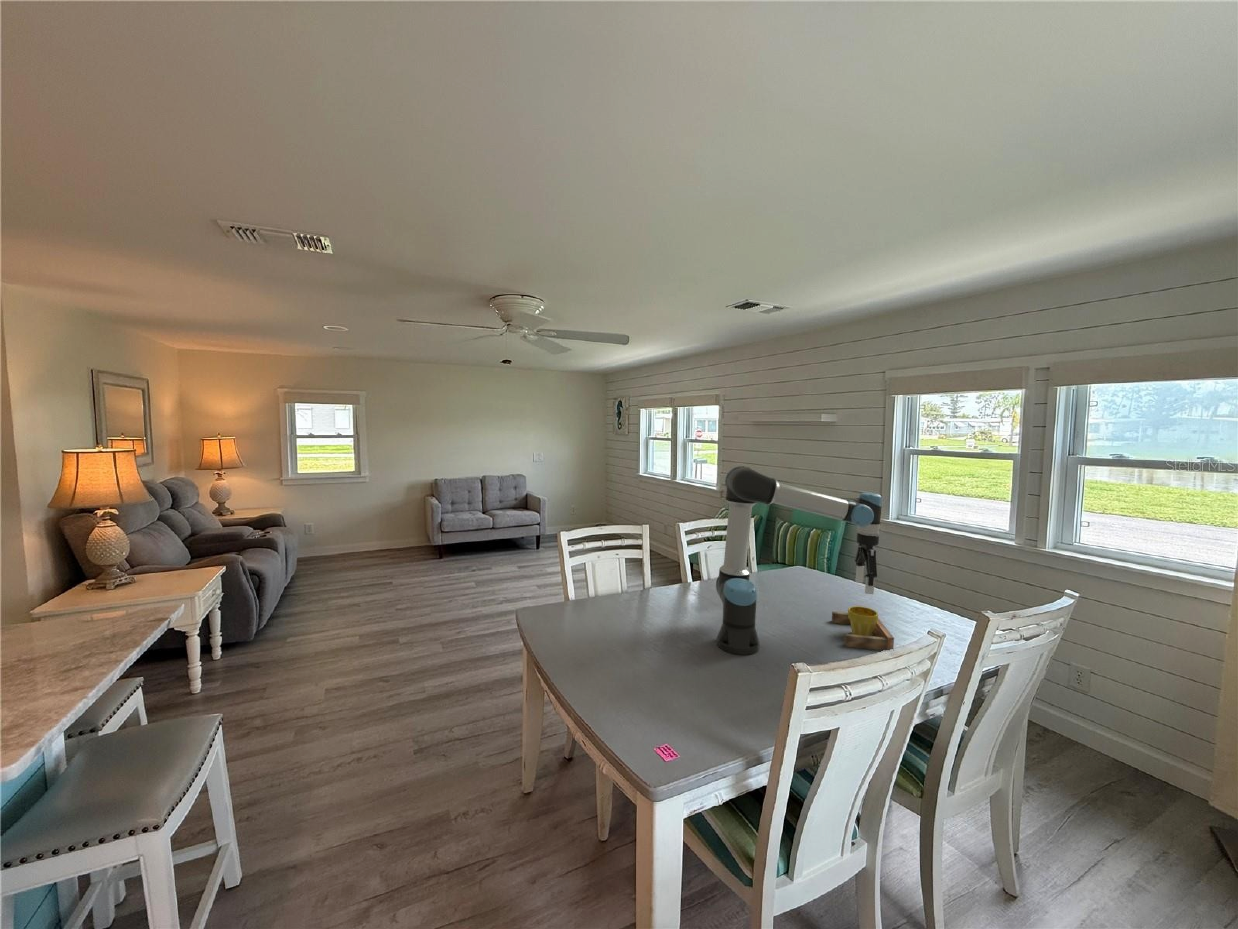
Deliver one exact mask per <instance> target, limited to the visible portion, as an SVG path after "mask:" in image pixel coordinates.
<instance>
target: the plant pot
mask: <svg viewBox="0 0 1238 929" xmlns="http://www.w3.org/2000/svg"><path fill="white" fill-rule="evenodd" d="M847 613H848V618H849V619H850V623H851V624H850V628H851V634H854V635H864V636H873V633H874V632H873V630H874V627H875V624H876V623H877V622H878V618H879V613H878V612H877V611H876V610H875V609H873V608H870V607H865V606H861V605H860V606H859V605H858V606H857V605H856V606H853V605H852V606H850V607H849V608H848V610H847Z"/></svg>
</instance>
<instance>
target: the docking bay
mask: <svg viewBox="0 0 1238 929" xmlns="http://www.w3.org/2000/svg"><path fill="white" fill-rule="evenodd" d="M831 622H832V624H842V625H851V623H850V619H849V618H848V612H844V611H843V612H842V611H841V612H840V611H832V612H831ZM887 628H888V627H886V626H885V625H884V623H883V622H882V621H881V619H879V617H878V622H877V623H876V624H875V627H874V630H873V633H874V634H875V635H876V636H875V635H874V636H873V635H872V636H864V635H854V634H852V633H844V646H845V647H849V648H856V649H857V648H858V649H860V648H861V649H866V650H867V649H869V650H878V649H880V650H879V651H886V650H890V649H893V650H894V644H895V643H894V642H895V637H894V636H893V634H891V632H890V631H889V630H888V629H887Z"/></svg>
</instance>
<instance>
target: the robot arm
mask: <svg viewBox="0 0 1238 929" xmlns="http://www.w3.org/2000/svg"><path fill="white" fill-rule="evenodd" d="M724 483H725V484H724V485H725V488H726V491H725V492H726V493H725V501H726V502H727V503H728V505H729V506H728V516H727V527H726V537H725V548H724V558H723V561H724V562H723V564H722V565H721V566H720V567H719V570H718V571H719V572H718V576H717V577H716V581H715V589H716V592H717V595H718V596H719V599H720V600H721V602H722V624H721V626H720V629H719V631H718V634H717V637H716V644H717V647H718V648H719V649H721V650H722V651H724V652H727V653H730V654H732V655H733V654H734V655H740V656H741V655H743V656H746V655H747V656H748V655H753V654H756V653H757V652H759V650H760V639H759V635H758V632H757V628H756V619H757V617H756V614H757V599H758V592H757V591H758V590H757V586H756V585H755V583H753V582H752V581H751V580H750V574H751V572H750V570H749V569H748V568H747V563H748V561H747V560H748V551H749V542H750V533H751V531H750V530H751V522H752V521H751V520H752V512H753V511H752V509H753V507H754V506H755V505H756V504H757V503H760V504H764V505H767V506H769V505H771V504H775V505H780V506H782V507H787V508H791V509H796V510H799V511H803V512H807V513H810V514H811V513H812V514H814V515H815V514H816V515H818V516H822V517H823V516H824V517H827V518H831V519H834V520H838V521H843V522H845V523H850V524H853V525H855V526H857V528H856V529H857V530H856V531H857V534H856V542H857V544H858V547H857V552H856V556H855V559H854V562H855V565H856V568H855V580H854V581H855V583H862V584H863V583H864V577H865V585H864V586H865V587H864V595H865V594H866V595H874V592H875V591H874V590H875V579H876V578H878V570H877V550H876V549H875V550H874V546H875V547H877V546H879V541H880V536H879V534H880V529H882V526H881V515H882V507H883V506H882V505H883V503H882V502H883V500H882V495H881V494H879V493H874V492H861V493H860V495H859V497H856V498H855V497H854V498H853V497H839V496H836V497H835V496H831V495H828V494H824V493H820V492H818V491H817V492H816V491H812V490H809V489H805V488H801V487H797V486H792V485H788V484H785V483H781V482H778V480H777V478H774V477H773V478H772V477H769V476H766V475H765V474H762V473H759V472H758V471H756V470H755V469H752V468H750V467H748V466H745V465H742V466H741V465H738V466H736V467H735V466H734V467H733V468H731V469H730V470H729V471H728V472H727V474H726V476H725V480H724ZM865 568H866V574H865Z"/></svg>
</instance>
